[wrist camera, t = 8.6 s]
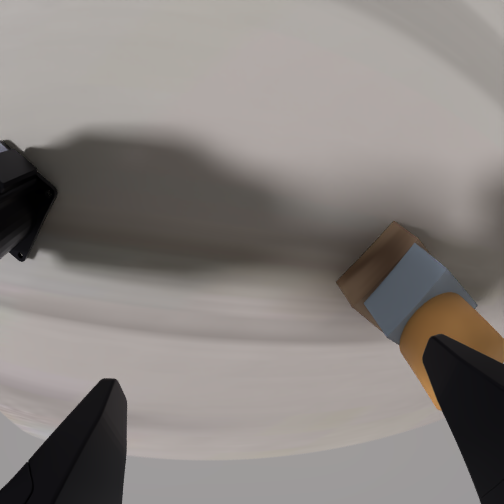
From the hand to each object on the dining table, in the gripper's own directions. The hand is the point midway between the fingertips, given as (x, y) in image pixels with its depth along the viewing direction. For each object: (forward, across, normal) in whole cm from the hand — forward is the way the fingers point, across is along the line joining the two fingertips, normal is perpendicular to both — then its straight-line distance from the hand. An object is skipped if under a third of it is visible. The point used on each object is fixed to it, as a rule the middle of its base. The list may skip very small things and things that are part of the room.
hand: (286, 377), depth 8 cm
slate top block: (+9, -11, +4) cm, 15 cm away
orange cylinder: (+6, -10, +5) cm, 13 cm away
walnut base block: (+13, -11, +5) cm, 17 cm away
